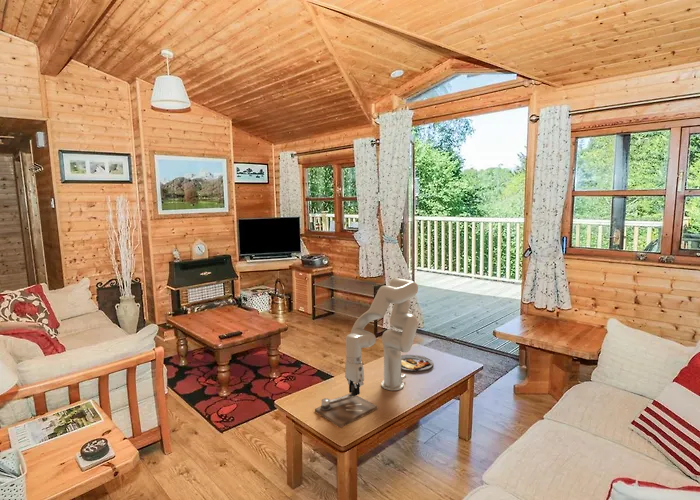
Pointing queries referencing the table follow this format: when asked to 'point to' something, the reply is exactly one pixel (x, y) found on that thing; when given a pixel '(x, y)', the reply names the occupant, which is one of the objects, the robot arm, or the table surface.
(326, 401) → the lever
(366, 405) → the cracker board
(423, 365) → the food plate
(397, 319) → the robot arm
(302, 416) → the table surface
